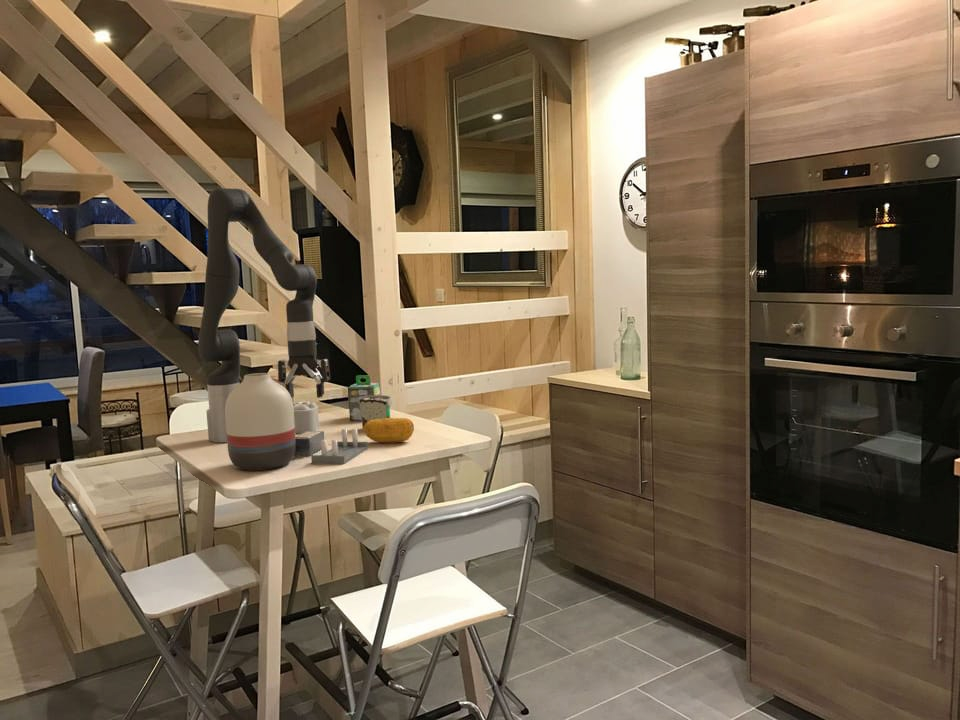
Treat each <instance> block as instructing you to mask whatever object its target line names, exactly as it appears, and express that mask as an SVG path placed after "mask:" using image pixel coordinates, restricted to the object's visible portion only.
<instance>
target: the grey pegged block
mask: <svg viewBox="0 0 960 720" xmlns="http://www.w3.org/2000/svg"><path fill="white" fill-rule="evenodd" d="M351 434H352V435H351V437H352V441H349V440H348V429H347V428H342V429H341V439H342V440H341V441H338V440H337V439H332V440H331V449H329V450H328V448H327V445H328V444H327V439H325V440H321V451H320V452H321V454H319V455H318V454H314V455H312V456H310V459H311V461H310V462H311V464H317V463H320V464H323V465H324V464H327V465H330V464H331V465H332V464H333V465H344V464H346V463H348V462H350V461H351V460H353V459H354V458H356V457H358V456H359V455H360V453H361V454H362V453H364V452H365V451H367V450H368V448H369V446H368V441H358V440H359V438H358V428H352V429H351ZM366 449H367V450H366ZM363 451H364V452H363Z"/></svg>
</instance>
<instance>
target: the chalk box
mask: <svg viewBox="0 0 960 720" xmlns="http://www.w3.org/2000/svg"><path fill="white" fill-rule="evenodd" d="M361 379H365V381H363V382H362V381H361ZM355 381H356V383H353V384H351V385H350V386H348V387H347V398H348V412H349V421H350V420H353V421H362V420H361V412H360V405H359V404H358V399H359V397H363V396H372V395H381V389H380V382H379V381H378V382H371V377H370V375H369V374H366V375H365V374H364V375H362V374H359V375H356V376H355Z"/></svg>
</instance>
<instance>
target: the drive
mask: <svg viewBox="0 0 960 720" xmlns="http://www.w3.org/2000/svg"><path fill="white" fill-rule="evenodd" d="M321 440H326V439H325V431H324V430H317V431H306V432H304V433H302V434H297V435H295V442H296V447H295V453H294V456H293V457H311V456H312V455H313V454H314V455H316V454H318V453H319V452H321V451H320V450H321ZM318 451H319V452H318ZM315 453H316V454H315Z"/></svg>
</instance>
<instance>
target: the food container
mask: <svg viewBox="0 0 960 720" xmlns="http://www.w3.org/2000/svg"><path fill="white" fill-rule="evenodd" d="M358 404H359V405H360V412H361V420H360V421H361V426H362V430H364V425H365V423H367V422H368V421H370V420H373V419H384V418H391V406H392V405H393V404H394V403H393V399H392V398H391V396H389V395H381V394H380V395H372V396H363V397H359V399H358Z"/></svg>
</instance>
